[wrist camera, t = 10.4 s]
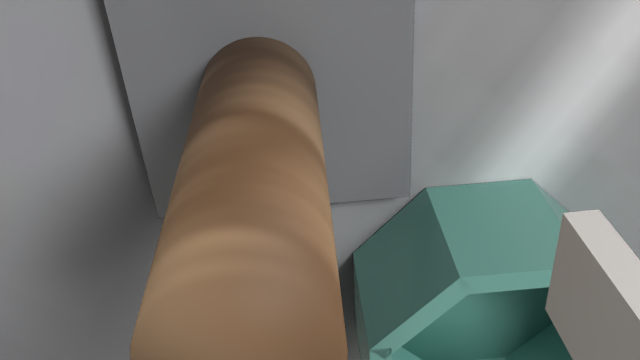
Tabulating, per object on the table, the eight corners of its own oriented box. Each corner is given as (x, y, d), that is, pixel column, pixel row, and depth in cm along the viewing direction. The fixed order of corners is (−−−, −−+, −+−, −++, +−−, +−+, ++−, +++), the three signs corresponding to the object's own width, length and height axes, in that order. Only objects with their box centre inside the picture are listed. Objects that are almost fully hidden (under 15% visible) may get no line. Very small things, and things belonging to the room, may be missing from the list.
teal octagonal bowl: (357, 368, 31) (372, 470, 26) (350, 194, 25) (367, 285, 20) (565, 349, 31) (616, 447, 26) (605, 172, 25) (680, 257, 21)
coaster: (161, 206, 25) (158, 218, 24) (98, -52, 19) (91, -46, 19) (406, 185, 25) (409, 196, 24) (411, -76, 20) (416, -71, 19)
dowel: (210, 145, 22) (154, 435, 12) (192, 41, 20) (106, 288, 10) (319, 137, 23) (350, 418, 12) (312, 32, 20) (343, 269, 10)
